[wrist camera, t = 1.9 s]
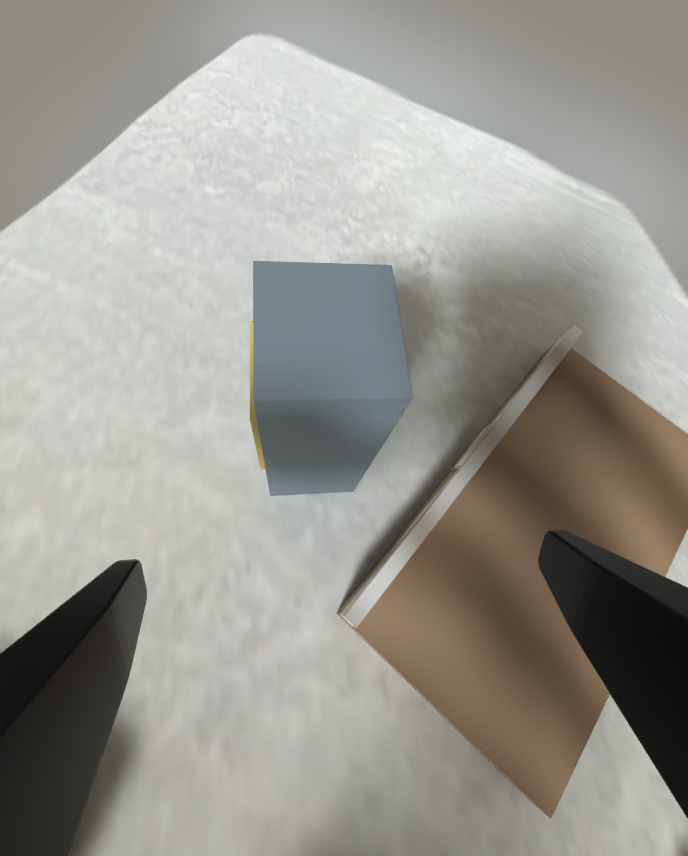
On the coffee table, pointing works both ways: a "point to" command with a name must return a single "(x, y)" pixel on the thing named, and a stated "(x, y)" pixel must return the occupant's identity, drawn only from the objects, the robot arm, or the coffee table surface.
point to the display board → (525, 565)
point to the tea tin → (324, 372)
